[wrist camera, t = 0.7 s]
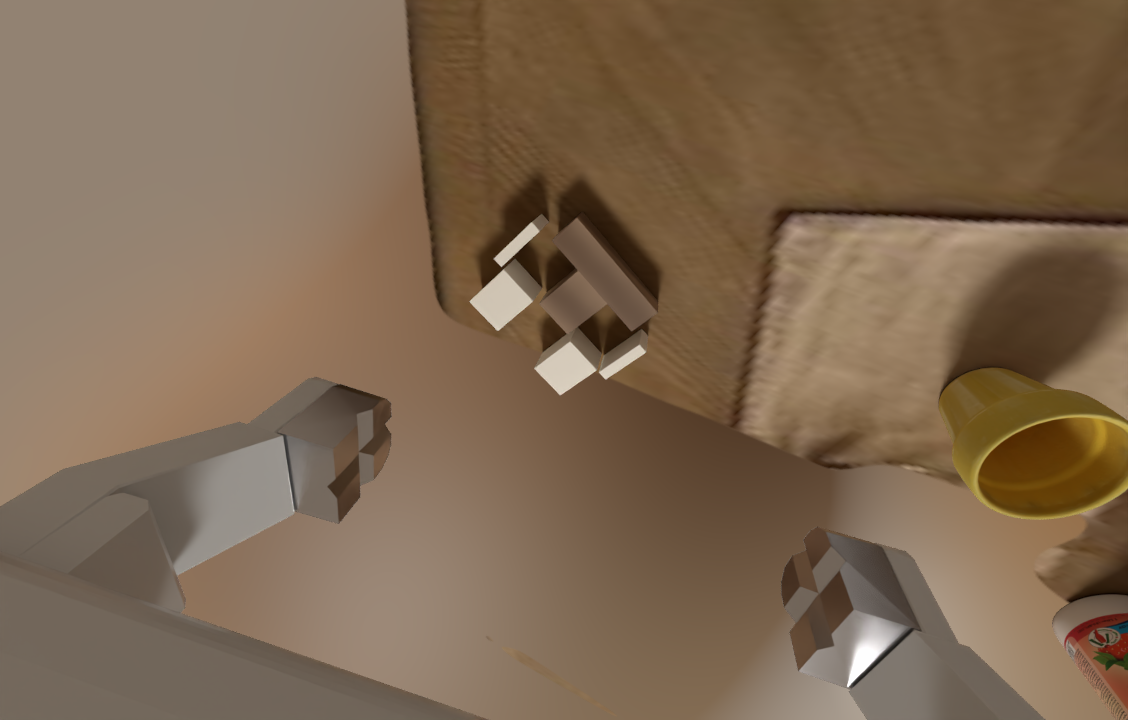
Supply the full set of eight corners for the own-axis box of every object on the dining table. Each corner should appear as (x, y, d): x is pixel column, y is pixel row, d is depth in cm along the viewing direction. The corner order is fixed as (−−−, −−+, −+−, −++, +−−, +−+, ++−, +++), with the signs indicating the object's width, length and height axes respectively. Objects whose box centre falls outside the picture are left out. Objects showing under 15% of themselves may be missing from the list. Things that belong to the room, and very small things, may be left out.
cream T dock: (541, 213, 43) (531, 222, 40) (648, 336, 46) (646, 352, 43) (473, 279, 47) (459, 291, 44) (574, 386, 51) (568, 404, 48)
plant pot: (1049, 434, 43) (1140, 515, 35) (918, 451, 46) (971, 528, 38) (1057, 335, 39) (1162, 400, 31) (912, 362, 42) (971, 426, 34)
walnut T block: (582, 211, 42) (577, 217, 39) (658, 301, 45) (657, 312, 42) (521, 266, 46) (513, 275, 43) (595, 346, 48) (591, 360, 46)
